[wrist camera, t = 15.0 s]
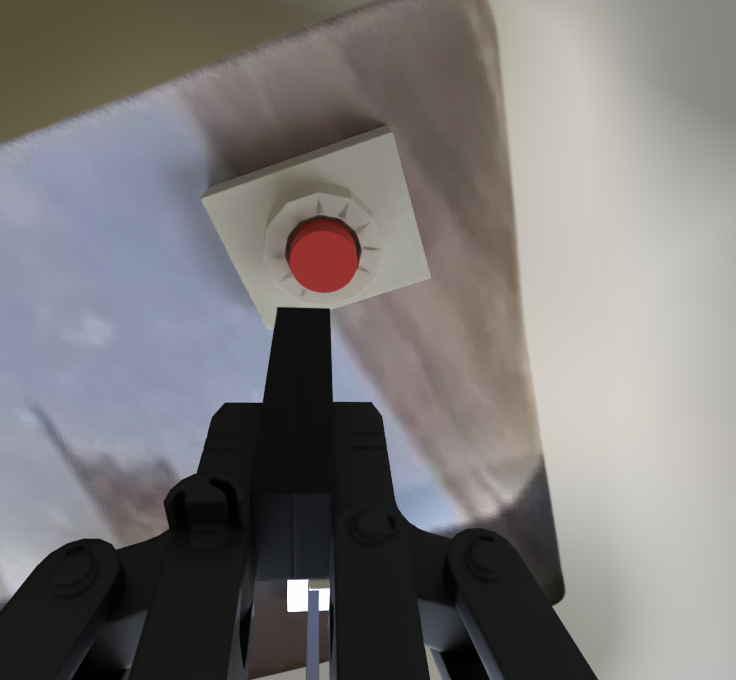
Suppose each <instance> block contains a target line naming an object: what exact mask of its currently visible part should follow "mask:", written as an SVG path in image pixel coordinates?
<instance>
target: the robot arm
mask: <svg viewBox="0 0 736 680" xmlns="http://www.w3.org/2000/svg"><path fill="white" fill-rule="evenodd" d="M207 435H208V436H207V438H206V441H205V445H204V451H203V452H202V456H201V459H200V463H199V467H198V470H197V473H196V474H194V475H191V476H189V477H187V478H185V479H183V480H181V481H180V482H179V483H178V484H176V485H175V486H174V487H173V488H172V489H171V490H170V491H169V493H168V495H167V497H166V498H165V500H164V507H165V511H166V515H167V520H168V524H169V530H167V531H165V532H164V533H162V534H160V535H159V536H157V537H154V538H152V539H149V540H147V541H144V542H140V543H137V544H134V545H130V546H127V547H124V548H120V549H117V550H116V549H115V548H114V546H113V545H112V544H111V543H108V542H106V541H104V540H101V539H81V540H78V541H74V542H71V543H67V544H65V545H64V546H62V547H60V548H58V549H57V550H55V551H53V552H52V553H50V554H49V555H48V556H47V557H46V558H45V559H44V560H43V561H42V562H41V563H40V564H39V565H38V566H36V568H35V569H34V570H33V571H32V573H31V574H30V575H29V577H28V578H27V579H26V580H25V582H24V583H23V584H22V585H21V587H20V588H19V589H18V590H17V592H16V593H15V594H14V595H13V597H12V598H11V599H10V600H9V602H8V603H7V604H6V606H5V607H4V608H3V609H2V611H1V612H0V680H247V675H248V666H249V657H250V648H251V639H252V630H253V621H254V612H255V610H254V599H253V595H254V586H255V578H256V581H281V580H312V579H330V596H329V613H328V628H329V664H330V665H329V669H330V672H329V673H330V680H430V676H429V670H428V663H427V658H426V651H425V647H428V648H430V651H431V653H432V656H433V658H434V661H435V663H436V665H437V668H438V671H439V673H440V676H441V678H442V680H598V679H597V677H596V676H595V674H594V672H593V671H592V669H591V668H590V666H589V664H588V663H587V661H586V660H585V658H584V657H583V655H582V653H581V652H580V650H579V649H578V647H577V645H576V644H575V642H574V641H573V639H572V638H571V636H570V634H569V633H568V631H567V630H566V628H565V627H564V625H563V623H562V622H561V620H560V619H559V617H558V615H557V614H556V612H555V611H554V609H553V607H552V606H551V604H550V603H549V601H548V600H547V598H546V596H545V595H544V593H543V592H542V590H541V588H540V587H539V585H538V584H537V582H536V581H535V579H534V577H533V576H532V574H531V573H530V571H529V569H528V568H527V566H526V565H525V563H524V562H523V560H522V558H521V557H520V555H519V554H518V552H517V551H516V550H515V548H514V547H513V546H512V545H511V544H510V543H509V542H508V540H506V539H505V538H503V537H502V536H500V535H498V534H497V533H495V532H493V531H489V530H485V529H482V528H474V529H466V530H464V531H462V532H460V533H458V534H456V535H455V537H454V538H453V539H450V538H446V537H442V536H439V535H435V534H432V533H429V532H426V531H423V530H421V529H419V528H417V527H415V526H414V525H412V524H411V523H409V522H408V521H407V520H406V519H405V518H404V517H403V516H402V514H401V512H400V511H399V509H398V507H397V504H396V501H395V497H394V490H393V484H392V477H391V471H390V465H389V458H388V452H387V445H386V439H385V432H384V426H383V419H382V416H381V414H380V413H379V412H378V410H377V409H376V408H375V406H374V405H373V404H372V402H333V392H332V360H331V328H330V308H298V307H277V313H276V319H275V326H274V332H273V339H272V346H271V352H270V359H269V365H268V372H267V378H266V385H265V391H264V398H263V403H224V404H223V405H222V407H221V408H220V409H219V410H218V411H217V412H216V413H215V415H214V416H213V417H212V419H211V423H210V427H209V430H208V434H207Z"/></svg>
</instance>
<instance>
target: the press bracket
mask: <svg viewBox="0 0 736 680" xmlns="http://www.w3.org/2000/svg"><path fill="white" fill-rule="evenodd" d="M287 589H288V611H307V654H306V680H319V610H329V596H330V590H312V591H310V590H309V580H287Z"/></svg>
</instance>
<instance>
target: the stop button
mask: <svg viewBox="0 0 736 680" xmlns="http://www.w3.org/2000/svg"><path fill="white" fill-rule="evenodd" d="M289 262H290V269H291V272H292V274H293V276H294V278H295V279H296V280H297V281H298V282H299V283H300V284H301V285H302V286H303V287H305V288H306V289H308V290H311V291H314V292H318V293H330V292H334V291H337V290H339V289H341V288H343V287H344V286H346V285H347V284H348V283H349V282H350V281H351V280H352V278H353V277H354V275H355V273H356V270H357V264H358V259H357V253H356V247H355V242H354V239H353V237H352V235H351V234H350V232H349V231H348V230H347V229H346V228H345V227H344V226H342V225H341V224H339V223H337V222H335V221H331V220H325V219H320V220H314V221H311V222H309V223H307V224H305V225H304V226H302V227H301V228H300V229H299V230H298V231H297V232H296V234H295V236H294V237H293V240H292V244H291V251H290V260H289Z"/></svg>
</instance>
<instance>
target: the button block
mask: <svg viewBox="0 0 736 680" xmlns="http://www.w3.org/2000/svg"><path fill="white" fill-rule="evenodd" d="M201 201H202V203H203V205H204V207H205V209H206V211H207V213H208V215H209V216H210V218H211V220H212V222H213V224H214V226H215V228H216V230H217V232H218V234H219V236H220V238H221V240H222V242H223V244H224V246H225V248H226V250H227V252H228V254H229V256H230V258H231V260H232V262H233V264H234V266H235V268H236V270H237V272H238V274H239V276H240V278H241V280H242V282H243V284H244V286H245V288H246V290H247V292H248V294H249V296H250V298H251V300H252V302H253V303H254V305H255V307H256V309H257V311H258V313H259V315H260V317H261V319H262V321H263V323H264V325H265V327H266V329H267V330H269V329H272V328H274V326H275V319H276V313H277V307H298V308H330V310H332V309H335V308H338V307H341V306H344V305H347V304H350V303H354V302H357V301H360V300H363V299H366V298H369V297H373V296H376V295H379V294H382V293H385V292H388V291H391V290H395V289H398V288H401V287H404V286H407V285H410V284H414V283H417V282H420V281H423V280H426V279H429V278H431V276H430V272H429V268H428V264H427V261H426V257H425V253H424V249H423V245H422V242H421V238H420V234H419V230H418V226H417V223H416V219H415V215H414V211H413V207H412V204H411V200H410V196H409V192H408V188H407V185H406V181H405V177H404V173H403V169H402V166H401V162H400V158H399V154H398V150H397V147H396V143H395V139H394V135H393V132H392V131H391V129H390V128H389V127H388V125H385V126H382V127H379V128H376V129H373V130H371V131H368V132H365V133H362V134H359V135H356V136H353V137H351V138H348V139H345V140H342V141H339V142H336V143H333V144H331V145H328V146H325V147H322V148H319V149H316V150H313V151H311V152H308V153H305V154H302V155H299V156H296V157H293V158H291V159H288V160H285V161H282V162H279V163H276V164H273V165H270V166H268V167H265V168H262V169H259V170H256V171H253V172H250V173H248V174H245V175H242V176H239V177H236V178H233V179H230V180H228V181H225V182H222V183H219V184H216V185H213V186H210V187H208V188H207V190H206V191H205V193H204V194H203V195H202V197H201ZM320 219H325V220H331V221H335V222H337V223H339V224H341V225H342V226H344V227H345V228H346V229H347V230H348V231H349V232H350V234H351V235H352V237H353V239H354V242H355V247H356V253H357V259H358V264H357V270H356V273H355V275H354V277H353V278H352V280H351V281H350V282H349V283H348V284H347V285H346V286H344V287H343V288H341V289H339V290H337V291H334V292H330V293H318V292H314V291H311V290H308V289H306V288H305V287H303V286H302V285H301V284H300V283H299V282H298V281H297V280H296V279H295V278H294V276H293V274H292V272H291V269H290V262H289V260H290V251H291V244H292V240H293V237H294V236H295V234H296V232H297V231H298V230H299V229H300V228H301V227H302V226H304V225H305V224H307V223H309V222H311V221H314V220H320Z"/></svg>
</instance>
